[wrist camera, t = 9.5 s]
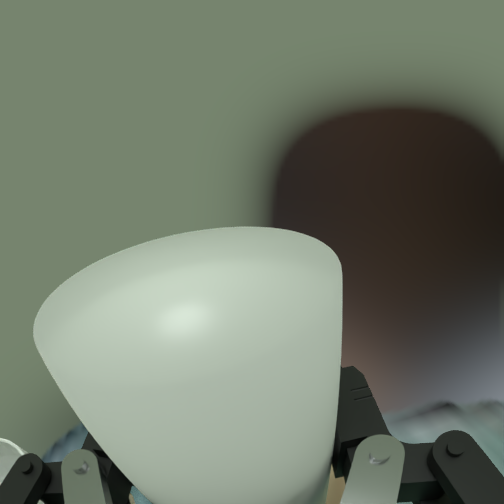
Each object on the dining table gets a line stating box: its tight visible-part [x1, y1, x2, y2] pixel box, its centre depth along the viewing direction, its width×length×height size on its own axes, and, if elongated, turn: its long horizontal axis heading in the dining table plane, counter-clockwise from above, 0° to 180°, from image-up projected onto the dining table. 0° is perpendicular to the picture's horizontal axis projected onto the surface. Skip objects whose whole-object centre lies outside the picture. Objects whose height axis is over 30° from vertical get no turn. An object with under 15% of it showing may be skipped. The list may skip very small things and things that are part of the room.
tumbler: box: [33, 227, 342, 504], centre depth 8 cm, size 6×6×13 cm
